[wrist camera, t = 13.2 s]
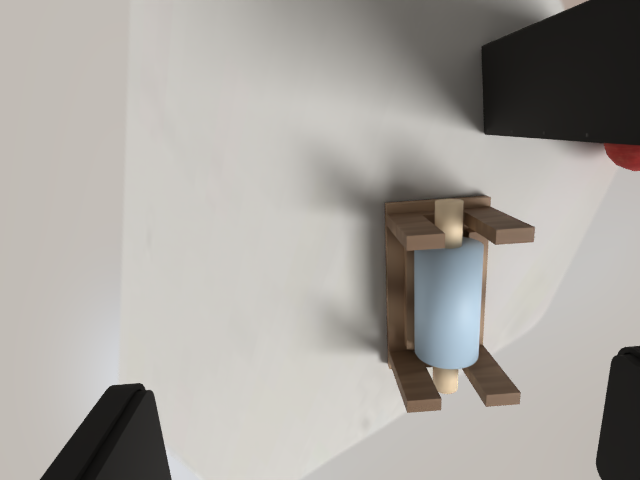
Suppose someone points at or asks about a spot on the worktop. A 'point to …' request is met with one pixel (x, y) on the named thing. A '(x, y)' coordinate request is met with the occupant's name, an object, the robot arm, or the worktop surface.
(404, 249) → the holder
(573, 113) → the tall black box
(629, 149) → the onion
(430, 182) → the worktop surface
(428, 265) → the blue rolling pin
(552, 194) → the worktop surface
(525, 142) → the worktop surface
